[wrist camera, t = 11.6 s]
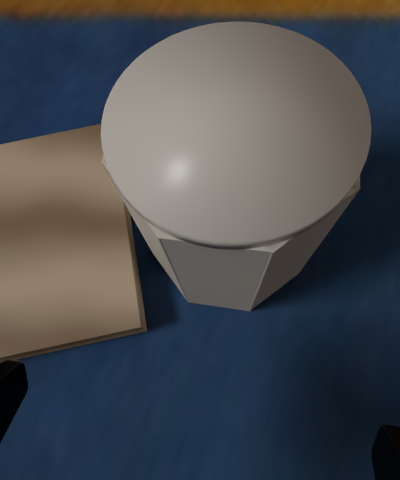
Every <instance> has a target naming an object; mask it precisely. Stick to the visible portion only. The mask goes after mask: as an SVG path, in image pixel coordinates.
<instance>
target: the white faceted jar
mask: <svg viewBox="0 0 400 480" xmlns="http://www.w3.org/2000/svg"><path fill="white" fill-rule="evenodd" d="M370 141H371V120H370V113H369V109H368V105H367V101H366V99H365V96H364V94H363V92H362V89H361V87H360V85H359V84H358V82H357V81H356V79H355V78H354V76H353V74H352V73H351V72H350V71H349V70H348V68H347V67H346V66H345V65H344V64H343V63H342V62H341V61H340V60H339V59H338V58H337V57H336V56H335V55H334V54H333V53H331V52H330V51H328V50H327V49H326V48H324V47H323V46H321V45H320V44H318V43H317V42H315V41H313V40H311V39H309V38H308V37H305V36H303V35H301V34H298V33H296V32H294V31H291V30H287V29H284V28H281V27H278V26H273V25H268V24H263V23H253V22H223V23H214V24H208V25H203V26H199V27H195V28H191V29H188V30H185V31H182V32H180V33H177V34H175V35H172V36H170V37H168V38H166V39H164V40H162V41H160V42H158V43H157V44H155V45H154V46H152V47H151V48H149V49H148V50H146V51H145V52H144V53H143V54H141V55H140V56H139V57H138V58H136V59H135V60H134V61H133V62H132V63H131V64H130V65H129V66H128V68H127V69H126V70H125V71H124V72H123V74H122V75H121V76H120V78H119V79H118V80H117V82H116V83H115V85H114V87H113V89H112V91H111V92H110V94H109V97H108V100H107V102H106V105H105V108H104V112H103V117H102V123H101V143H102V150H103V158H102V161H101V163H102V165H103V166H104V168H105V170H106V172H107V173H108V175H109V177H110V179H111V181H112V182H113V184H114V186H115V188H116V189H117V191H118V193H119V195H120V196H121V198H122V200H123V202H124V204H125V205H126V207H127V209H128V211H129V212H130V214H131V216H132V218H133V219H134V221H135V223H136V225H137V226H138V228H139V230H140V232H141V234H142V235H143V237H144V239H145V241H146V242H147V244H148V246H149V248H150V249H151V251H152V253H153V255H154V256H155V257H156V259H157V260H158V261H159V263H160V264H161V265H162V267H163V268H164V270H165V271H166V272H167V274H168V275H169V277H170V278H171V279H172V281H173V282H174V283H175V285H176V286H177V288H178V289H179V290H180V292H181V293H182V295H183V296H184V297H185V299H186V300H187V302H188V303H189V302H190V303H197V304H204V305H211V306H217V307H224V308H231V309H238V310H245V311H251V310H252V309H253V308H255V307H256V306H257V305H259V304H260V303H261V302H262V301H264V300H265V299H266V298H268V297H269V296H270V295H272V294H273V293H274V292H275V291H277V290H278V289H279V288H281V287H282V286H283V285H285V284H286V283H287V282H289V281H290V280H291V279H292V278H294V277H295V276H296V275H298V274H299V272H300V271H301V270H302V268H303V267H304V266H305V264H306V263H307V261H308V260H309V259H310V257H311V256H312V255H313V253H314V252H315V250H316V249H317V248H318V246H319V245H320V243H321V242H322V241H323V239H324V238H325V237H326V235H327V234H328V232H329V231H330V230H331V228H332V227H333V226H334V224H335V223H336V221H337V220H338V219H339V217H340V216H341V215H342V213H343V212H344V210H345V209H346V208H347V206H348V205H349V204H350V202H351V201H352V199H353V198H354V197H355V195H356V194H357V193H358V191H359V190H360V173H361V171H362V169H363V166H364V164H365V162H366V159H367V155H368V151H369V147H370Z"/></svg>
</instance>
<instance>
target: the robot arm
mask: <svg viewBox="0 0 400 480" xmlns="http://www.w3.org/2000/svg"><path fill="white" fill-rule="evenodd" d="M27 389H28V381H27V375H26V369H25V364H24V363H23V362H22V361H18V360H12V359H8V360H5V361H3V362H1V363H0V443H1V441H2V439H3V437H4V435H5V433H6V431H7V429H8V427H9V426H10V424H11V422H12V420H13V418H14V416H15V414H16V412H17V410H18V408H19V406H20V404H21V403H22V401H23V399H24V397H25V395H26V392H27ZM372 462H373V468H374V474H375V480H400V427H397V426H391V425H382V426H381V427H380V429H379V431H378V434H377V436H376V439H375V442H374V444H373V447H372Z"/></svg>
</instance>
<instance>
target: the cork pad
mask: <svg viewBox="0 0 400 480" xmlns="http://www.w3.org/2000/svg"><path fill="white" fill-rule="evenodd" d="M102 158H103V150H102V143H101V124H98V125H93V126H88V127H83V128H79V129H74V130H69V131H64V132H59V133H54V134H50V135H45V136H40V137H35V138H30V139H25V140H20V141H16V142H11V143H6V144H1V145H0V363H1V362H3V361H5V360H8V359H12V360H17V359H21V358H26V357H30V356H35V355H40V354H44V353H49V352H53V351H58V350H63V349H67V348H72V347H77V346H81V345H86V344H90V343H95V342H100V341H104V340H109V339H113V338H118V337H123V336H127V335H132V334H136V333H141V332H146V331H147V326H146V319H145V312H144V305H143V298H142V291H141V284H140V278H139V271H138V264H137V257H136V250H135V243H134V236H133V230H132V223H131V216H130V212H129V211H128V209H127V207H126V205H125V204H124V202H123V200H122V198H121V196H120V195H119V193H118V191H117V189H116V188H115V186H114V184H113V182H112V181H111V179H110V177H109V175H108V173H107V172H106V170H105V168H104V166H103V165H102V163H101V161H102Z"/></svg>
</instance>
